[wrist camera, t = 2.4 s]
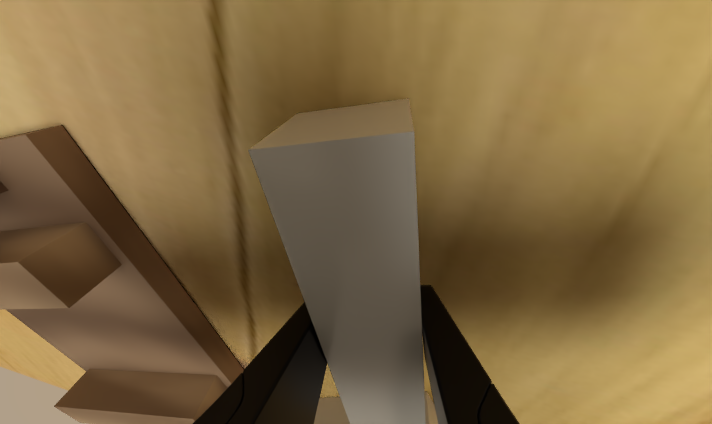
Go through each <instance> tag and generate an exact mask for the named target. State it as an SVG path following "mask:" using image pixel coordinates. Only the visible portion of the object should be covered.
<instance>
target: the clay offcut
mask: <svg viewBox="0 0 712 424" xmlns="http://www.w3.org/2000/svg"><path fill="white" fill-rule="evenodd" d="M424 395H425V420H426V424H438V420H437V415H436V410H435V405H434V403H433V401H432V400H431V398H430V396H429V395H428V393H427V391H424ZM314 424H350V422H349V419H348V417H347V414H346V411H345V409H344V406H343V403H342V401H341V398H340V397H327V398H319V402H318V407H317V411H316V416H315V420H314Z"/></svg>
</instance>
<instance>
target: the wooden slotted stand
mask: <svg viewBox="0 0 712 424" xmlns="http://www.w3.org/2000/svg"><path fill="white" fill-rule="evenodd" d="M0 309H6V310H7V311H8V312H10V313H11V314H12V315H13V316H15V317H16V318H17V319H19V320H20V321H21V322H23V323H24V324H25V325H27V326H28V327H29V328H30V329H32V330H33V331H34V332H36V333H37V334H38V335H40V336H41V337H42V338H43V339H45V340H46V341H47V342H49V343H50V344H51V345H53V346H54V347H55V348H56V349H58V350H59V351H60V352H62V353H63V354H64V355H66V356H67V357H68V358H70V359H71V360H72V361H73V362H75V363H76V364H77V365H79V366H80V367H81V368H83V369H84V370H85V371H86V373H85V374H84V375H83V376H82V377H81V378H80V379H79V380H78V381H77V382H76V383H75V384H74V386H73V387H72V388H71V389H70V390H69V391H68V392H67V393H66V394H65V395H64V396H63V397H62V398H61V399H60V400H59V402H58V403H57V404H56V405H55V406H54V407H56V408H57V409H59V410H61V411H62V412H64V413H66V414H67V415H69V416H70V417H72V418H74V419H75V420H77V421H78V422H80V423H89V424H193V423H194V422H195V421H196V420H197V419H198V418H199V417H200V416H201V415H202V414H203V413H204V412H205V411H206V410H207V409H208V408H209V407H210V406H211V405H212V404H213V403H214V402H215V401H216V400H217V399H218V398H219V397H220V396H221V394H222V393H223V392H224V391H225V390H226V389H227V388H228V387H229V386H230V385H231V384H232V383H233V381H234V380H235V379H236V378H237V377H238V376H239V375H240V374H241V373H243V371H244V369H243V368H242V367H241V365H240V364H239V363H238V361H237V360H236V359H235V357H234V356H233V355H232V353H231V352H230V351H229V349H228V348H227V347H226V345H225V344H224V342H223V341H222V340H221V338H220V337H219V336H218V334H217V333H216V332H215V330H214V329H213V328H212V326H211V325H210V324H209V322H208V321H207V320H206V318H205V317H204V316H203V314H202V313H201V312H200V310H199V309H198V308H197V306H196V305H195V304H194V302H193V301H192V299H191V298H190V297H189V295H188V294H187V293H186V291H185V290H184V289H183V287H182V286H181V285H180V283H179V282H178V281H177V279H176V278H175V277H174V275H173V274H172V273H171V271H170V270H169V269H168V267H167V266H166V265H165V263H164V262H163V261H162V259H161V258H160V257H159V255H158V254H157V252H156V251H155V250H154V248H153V247H152V246H151V244H150V243H149V242H148V240H147V239H146V238H145V236H144V235H143V234H142V232H141V231H140V230H139V228H138V227H137V226H136V224H135V223H134V222H133V220H132V219H131V218H130V216H129V215H128V214H127V212H126V211H125V209H124V208H123V207H122V205H121V204H120V203H119V201H118V200H117V199H116V197H115V196H114V195H113V193H112V192H111V191H110V189H109V188H108V187H107V185H106V184H105V183H104V181H103V180H102V179H101V177H100V176H99V175H98V173H97V172H96V171H95V169H94V168H93V167H92V165H91V164H90V162H89V161H88V160H87V158H86V157H85V156H84V154H83V153H82V152H81V150H80V149H79V148H78V146H77V145H76V144H75V142H74V141H73V140H72V138H71V137H70V136H69V134H68V133H67V132H66V130H65V129H64V128H63V126H62V125H61V126H56V127H51V128H47V129H42V130H37V131H33V132H28V133H23V134H19V135H14V136H9V137H5V138H0Z"/></svg>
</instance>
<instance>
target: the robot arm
mask: <svg viewBox="0 0 712 424" xmlns="http://www.w3.org/2000/svg"><path fill="white" fill-rule="evenodd" d="M420 293H421V318H422V336H423V345H424V354H425V360H426V365H427V370H428V375H429V380H430V385H431V390H432V395H433V400H434V405H435V410H436V415H437V420H438V424H520V423H519V422H518V421H517V419H516V418H515V416H514V415H513V413H512V412H511V410H510V409H509V407H508V406H507V404H506V403H505V401H504V400H503V398H502V397H501V395H500V393H499V392H498V390H497V389H496V387H495V385H494V384H491V383H492V381H491V379H490V378H489V376H488V375H487V373H486V371H485V370H484V368H483V367H482V365H481V363H480V362H479V360H478V359H477V357H476V356H475V354H474V352H473V351H472V349H471V348H470V346H469V344H468V343H467V341H466V340H465V338H464V336H463V335H462V333H461V332H460V330H459V328H458V327H457V325H456V324H455V322H454V321H453V319H452V317H451V316H450V314H449V313H448V311H447V309H446V308H445V306H444V305H443V303H442V301H441V300H440V298H439V297H438V295H437V294H436V292H435V290H434V289H433V287H432V286H431V285H420ZM326 366H327V360H326V358H325V355H324V352H323V350H322V347H321V344H320V342H319V339H318V336H317V334H316V331H315V328H314V325H313V323H312V320H311V317H310V315H309V312H308V309H307V307H306V304H305V302H304V303H303V304H302V305H301V307H300V308H299V309H298V310H297V311H296V312H295V313H294V314H293V316H292V317H291V318H290V319H289V320H288V321H287V322H286V323H285V324H284V326H283V327H282V328H281V329H280V330H279V331H278V332H277V333H276V335H275V336H274V337H273V338H272V339H271V340H270V341H269V342H268V344H267V345H266V346H265V347H264V348H263V349H262V350H261V351H260V352H259V354H258V355H257V356H256V357H255V358H254V359H253V360H252V361H251V363H250V364H249V365H248V366H247V367H246V368H245V369H244V371H243V373H241V374H240V375H239V376H238V377H237V378H236V379H235V380H234V381H233V383H232V384H231V385H230V386H229V387H228V388H227V389H226V390H225V391H224V392H223V393H222V394H221V396H220V397H219V398H218V399H217V400H216V401H215V402H214V403H213V404H212V405H211V406H210V407H209V408H208V409H207V410H206V411H205V412H204V413H203V414H202V415H201V416H200V417H199V418H198V419H197V420H196V421H195V422H194V423H193V424H314V420H315V416H316V411H317V407H318V402H319V398H320V393H321V389H322V384H323V380H324V375H325V371H326Z"/></svg>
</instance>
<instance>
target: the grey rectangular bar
mask: <svg viewBox="0 0 712 424" xmlns="http://www.w3.org/2000/svg"><path fill="white" fill-rule="evenodd" d="M248 151H249V154H250V156H251V159H252V162H253V164H254V167H255V170H256V172H257V175H258V178H259V180H260V183H261V186H262V189H263V191H264V194H265V197H266V199H267V202H268V205H269V207H270V210H271V213H272V215H273V218H274V221H275V223H276V226H277V229H278V231H279V234H280V237H281V240H282V242H283V245H284V248H285V250H286V253H287V256H288V258H289V261H290V264H291V266H292V269H293V272H294V274H295V277H296V280H297V282H298V285H299V288H300V291H301V293H302V296H303V299H304V301H305V304H306V307H307V309H308V312H309V315H310V317H311V320H312V323H313V325H314V328H315V331H316V334H317V336H318V339H319V342H320V344H321V347H322V350H323V352H324V355H325V358H326V360H327V363H328V366H329V368H330V371H331V374H332V376H333V379H334V382H335V385H336V387H337V390H338V393H339V395H340V398H341V401H342V403H343V406H344V409H345V411H346V414H347V417H348V419H349V422H350V424H426V420H425V395H424V369H423V344H422V318H421V293H420V267H419V241H418V216H417V190H416V165H415V139H414V127H413V121H412V114H411V108H410V102H409V98H407V99H400V100H393V101H385V102H378V103H370V104H363V105H356V106H348V107H341V108H333V109H326V110H318V111H311V112H304V113H297V114H296V115H294V116H293V117H292V118H290V119H289V120H288V121H286V122H285V123H284V124H282V125H281V126H280V127H278V128H277V129H276V130H274V131H273V132H272V133H270V134H269V135H267V136H266V137H265V138H263V139H262V140H261V141H259V142H258V143H257V144H255V145H254V146H253V147H251V148H250V149H249V150H248Z"/></svg>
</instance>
